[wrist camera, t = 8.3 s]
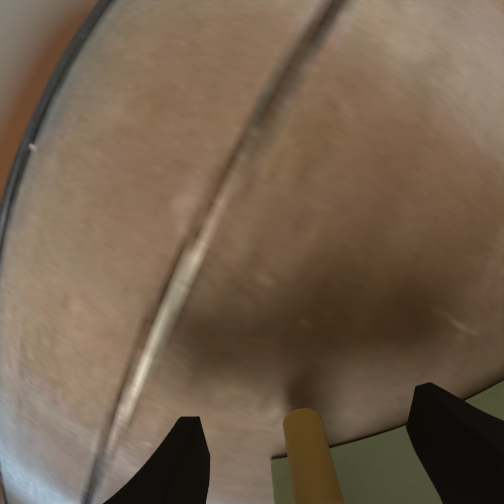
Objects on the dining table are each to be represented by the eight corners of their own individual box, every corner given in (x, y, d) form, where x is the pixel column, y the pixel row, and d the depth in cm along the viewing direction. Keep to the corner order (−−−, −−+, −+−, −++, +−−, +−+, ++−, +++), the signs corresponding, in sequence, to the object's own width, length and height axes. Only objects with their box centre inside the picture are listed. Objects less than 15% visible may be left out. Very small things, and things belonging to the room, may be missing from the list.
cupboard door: (250, 390, 14) (255, 562, 5) (520, 306, 13) (621, 371, 5) (273, 469, 15) (284, 598, 7) (504, 389, 15) (574, 462, 6)
